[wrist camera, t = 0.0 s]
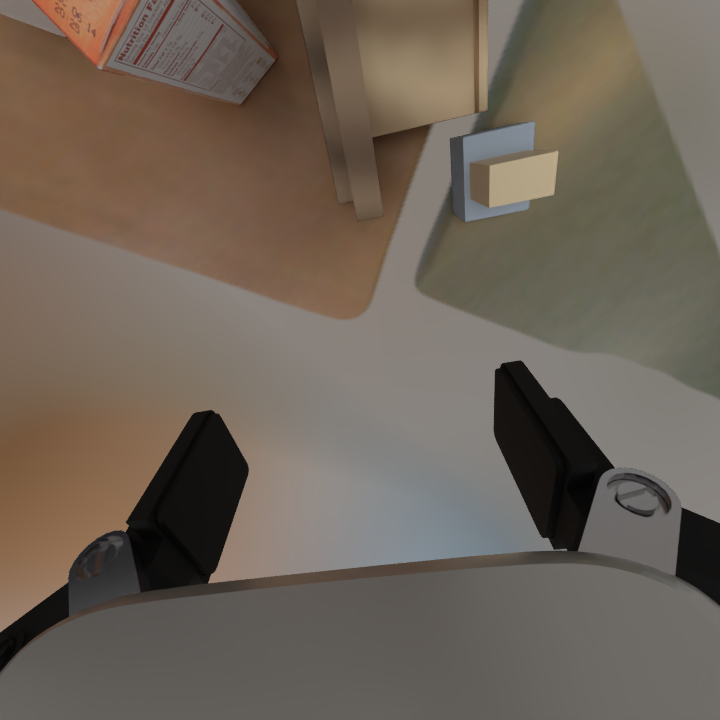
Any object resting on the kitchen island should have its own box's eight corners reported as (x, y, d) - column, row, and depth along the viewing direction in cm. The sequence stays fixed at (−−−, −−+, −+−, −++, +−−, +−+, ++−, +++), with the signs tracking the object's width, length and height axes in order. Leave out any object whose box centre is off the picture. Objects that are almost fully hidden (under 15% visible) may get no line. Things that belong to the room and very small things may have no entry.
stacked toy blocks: (449, 138, 33) (483, 136, 24) (514, 123, 33) (572, 115, 24) (453, 213, 37) (482, 234, 28) (511, 201, 36) (560, 219, 27)
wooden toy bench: (262, -167, 23) (178, -439, 13) (449, -231, 22) (538, -596, 11) (339, 202, 36) (331, 227, 25) (461, 175, 35) (508, 189, 24)
